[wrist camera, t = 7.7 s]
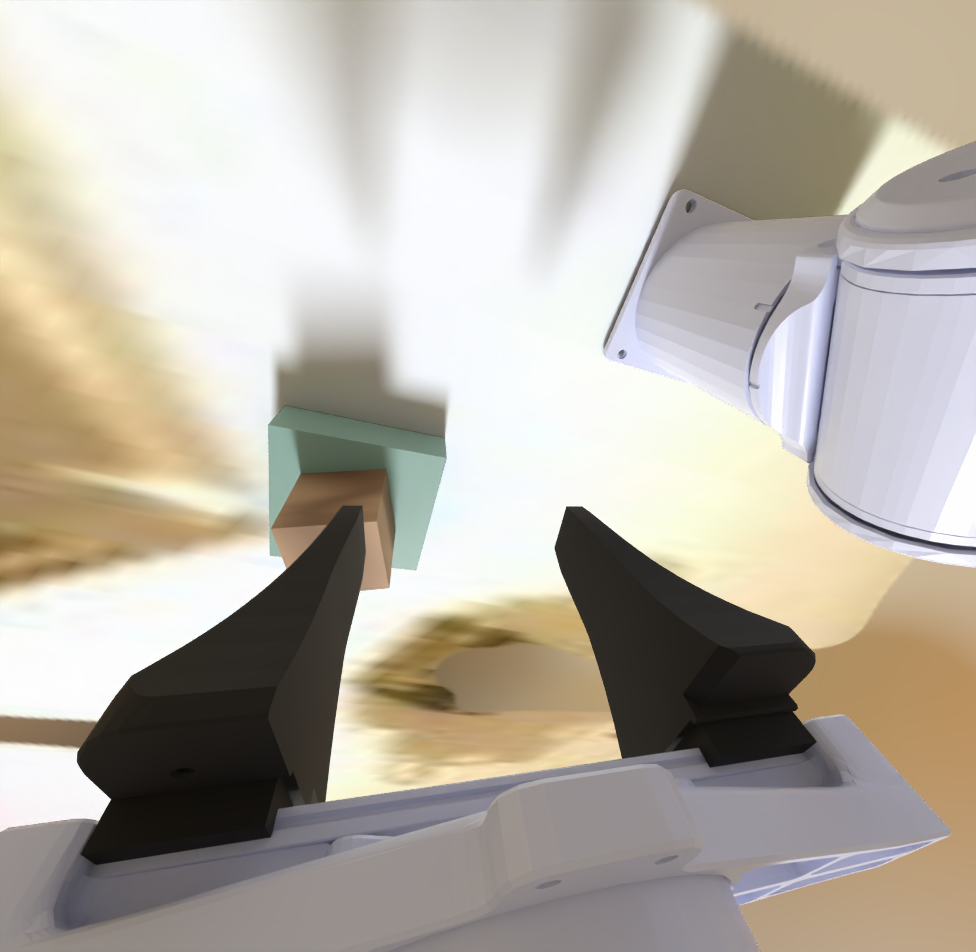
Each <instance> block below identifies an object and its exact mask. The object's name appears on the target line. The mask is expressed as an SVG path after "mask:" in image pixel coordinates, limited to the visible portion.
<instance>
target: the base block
mask: <svg viewBox="0 0 976 952" xmlns="http://www.w3.org/2000/svg"><path fill="white" fill-rule="evenodd" d="M268 439H269V529H270V556H279V557H282V556H281V553H280V551H279V548H278V546H277V543H276V541H275V538H274V536H273V533H272V531H271V527H272V525H273V524H274V522H275V520H276V518H277V516H278V514H279V513H280V511H281V509H282V507H283V505H284V503H285V502H286V500H287V498H288V496H289V494H290V492H291V491H292V489H293V487H294V485H295V483H296V481H297V480H298V478H299V476H300V474H302V473H321V472H340V471H360V470H379V469H386V471H387V478H388V484H389V490H390V497H391V503H392V510H393V516H394V523H395V529H396V532H395V541H394V549H393V558H392V567H391V568H399V569H409V570H416V569H417V566H418V562H419V558H420V555H421V551H422V547H423V544H424V540H425V536H426V532H427V529H428V525H429V521H430V518H431V514H432V510H433V507H434V503H435V499H436V495H437V492H438V488H439V484H440V481H441V477H442V473H443V470H444V466H445V462H446V458H447V457H446V446H445V438H443V437H438V436H433V435H428V434H423V433H418V432H413V431H408V430H403V429H398V428H394V427H389V426H384V425H379V424H374V423H369V422H364V421H359V420H354V419H349V418H344V417H339V416H335V415H330V414H325V413H320V412H315V411H310V410H305V409H300V408H295V407H290V406H284V407H283V408H282V410H281V411H280V412H279V413H278V414H277V415H276V417H275V418H274V419H273V420H272V421H271V422H270V423H269V425H268Z"/></svg>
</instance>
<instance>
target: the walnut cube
mask: <svg viewBox="0 0 976 952" xmlns="http://www.w3.org/2000/svg"><path fill="white" fill-rule="evenodd" d="M342 506H363V518H364V532H365V546H366V555H365V564H364V572H363V579H362V583H361V588H360V591H362V590H373V589H384V588H389V585H390V576H391V567H392V558H393V549H394V541H395V532H396V529H395V523H394V516H393V510H392V503H391V497H390V490H389V484H388V478H387V471H386V469H379V470H360V471H340V472H321V473H302V474H300V476H299V478H298V480H297V481H296V483H295V485H294V487H293V489H292V491H291V492H290V494H289V496H288V498H287V500H286V502H285V503H284V505H283V507H282V509H281V511H280V513H279V514H278V516H277V518H276V520H275V522H274V524H273V525H272V527H271V531H272V533H273V536H274V538H275V541H276V543H277V546H278V548H279V551H280V553H281V556H282V558H283V561H284V563H285V566H286V568H288V567H289V566H290V565H291V564H292V563H293V562H294V561H295V560H296V559H297V558H298V557H299V556H300V555H301V554H302V553H303V552H304V551H305V550H306V549H307V548H308V547H309V546H310V544H311V543H312V542H313V541H314V540H315V539H316V538H317V536H318V535H319V534H320V533H321V532H322V531H323V529H324V528H325V527H326V526H327V525H328V523H329V522H330V521H331V520H332V518H333V517H334V516H335V514H336V513H337V512H338V510H339V509H340V508H341V507H342Z"/></svg>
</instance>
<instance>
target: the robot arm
mask: <svg viewBox="0 0 976 952" xmlns="http://www.w3.org/2000/svg"><path fill="white" fill-rule="evenodd" d="M688 201H690V202H691V204H692V206H691V209H690V211H689V212H688V213H687V212H686V204H687V203H688ZM621 350H624V353H623V355H622V356H621V357H618V353H619V352H620V351H621ZM604 356H605V358H607V359H608V360H610V361H613V362H616V363H620V364H623V365H627V366H630V367H634V368H637V369H641V370H644V371H648V372H651V373H654V374H658V375H661V376H665V377H668V378H672V379H675V380H679V381H682V382H686V383H689V384H692V385H693V386H695V387H697V388H699V389H701V390H703V391H704V392H706V393H708V394H710V395H712V396H714V397H715V398H717V399H719V400H721V401H723V402H725V403H726V404H728V405H730V406H732V407H734V408H735V409H737V410H739V411H741V412H743V413H745V414H746V415H748V416H750V417H752V418H754V419H756V420H757V421H759V422H761V423H763V424H765V425H767V426H769V427H770V428H772V429H774V430H775V431H776V432H778V433H779V435H780V436H781V439H782V447H783V449H785V450H787V451H788V452H790V453H792V454H794V455H795V456H797V457H799V458H800V459H802V460H804V461H805V462H807V463H810V464H809V467H808V475H807V487H808V492H809V494H810V496H811V498H812V500H813V502H814V504H815V505H816V506H817V507H818V508H819V510H820V511H821V512H822V513H823V514H824V515H825V516H826V517H827V518H829V519H830V520H831V521H832V522H833V523H835V524H836V525H838V526H839V527H841V528H842V529H844V530H846V531H847V532H849V533H850V534H852V535H854V536H856V537H858V538H861V539H863V540H865V541H867V542H869V543H871V544H874V545H877V546H879V547H882V548H884V549H887V550H890V551H893V552H896V553H900V554H903V555H907V556H910V557H914V558H918V559H923V560H928V561H933V562H938V563H942V564H951V565H958V566H967V567H976V141H974V142H972V143H969V144H966V145H964V146H961V147H958V148H956V149H953V150H951V151H948V152H946V153H943V154H941V155H939V156H936V157H934V158H932V159H929V160H927V161H925V162H923V163H921V164H918V165H916V166H914V167H912V168H910V169H908V170H906V171H904V172H902V173H901V174H899V175H897V176H895V177H894V178H892V179H891V180H889V181H888V182H886V183H885V184H884V185H882V186H881V187H880V188H879V189H878V190H877V191H876V192H875V193H874V194H872V195H871V196H870V197H869V198H868V199H867V200H866V201H865V202H864V203H863V204H861V205H859V206H858V207H857V208H855V209H854V210H853V211H852V212H851V213H850V214H848V215H833V216H818V217H802V218H786V219H770V220H753V219H750V218H748V217H746V216H744V215H742V214H740V213H738V212H735V211H733V210H731V209H729V208H727V207H725V206H722V205H720V204H718V203H716V202H714V201H712V200H709V199H707V198H705V197H703V196H701V195H699V194H696V193H694V192H692V191H690V190H688V189H682V190H678V191H676V192H675V193H674V194H673V195H672V196H671V198H670V199H669V202H668V204H667V206H666V209H665V211H664V213H663V215H662V218H661V220H660V222H659V225H658V227H657V229H656V231H655V234H654V236H653V238H652V241H651V243H650V245H649V247H648V250H647V252H646V254H645V257H644V259H643V261H642V263H641V266H640V268H639V270H638V273H637V275H636V277H635V280H634V282H633V284H632V286H631V289H630V291H629V293H628V296H627V298H626V300H625V302H624V305H623V307H622V309H621V312H620V314H619V316H618V318H617V321H616V323H615V325H614V328H613V330H612V332H611V334H610V337H609V339H608V341H607V344H606V346H605V348H604ZM555 552H556V555H557V559H558V563H559V566H560V569H561V573H562V575H563V578H564V580H565V582H566V585H567V587H568V589H569V592H570V594H571V596H572V598H573V601H574V603H575V605H576V607H577V610H578V612H579V614H580V616H581V619H582V621H583V623H584V626H585V628H586V631H587V633H588V636H589V639H590V642H591V645H592V648H593V651H594V654H595V657H596V660H597V663H598V667H599V670H600V674H601V677H602V680H603V684H604V687H605V691H606V695H607V698H608V702H609V706H610V710H611V714H612V717H613V721H614V725H615V730H616V734H617V738H618V743H619V747H620V751H621V756H622V759H618V760H611V761H604V762H597V763H591V764H584V765H577V766H570V767H563V768H556V769H549V770H542V771H535V772H529V773H522V774H515V775H508V776H501V777H494V778H487V779H480V780H473V781H467V782H460V783H453V784H446V785H439V786H432V787H425V788H418V789H411V790H405V791H398V792H391V793H384V794H377V795H370V796H363V797H356V798H349V799H343V800H336V801H329V802H325V800H326V791H327V782H328V773H329V765H330V756H331V748H332V740H333V732H334V725H335V717H336V710H337V702H338V695H339V688H340V681H341V674H342V667H343V660H344V654H345V649H346V644H347V640H348V636H349V632H350V628H351V624H352V620H353V616H354V612H355V608H356V604H357V600H358V596H359V592H360V588H361V583H362V579H363V572H364V564H365V555H366V546H365V532H364V518H363V506H342V507H341V508H340V509H339V510H338V512H337V513H336V514H335V516H334V517H333V518H332V520H331V521H330V522H329V523H328V525H327V526H326V527H325V528H324V529H323V531H322V532H321V533H320V534H319V535H318V536H317V538H316V539H315V540H314V541H313V542H312V543H311V544H310V546H309V547H308V548H307V549H306V550H305V551H304V552H303V553H302V554H301V555H300V556H299V557H298V558H297V559H296V560H295V561H294V562H293V563H292V564H291V565H290V566H289V567H288V568H287V569H286V570H285V571H284V572H283V573H282V574H281V575H280V576H279V577H278V578H277V579H275V580H274V581H273V582H272V583H271V584H270V585H269V586H267V587H266V588H265V589H264V590H263V591H262V592H260V593H259V594H258V595H257V596H255V597H254V598H253V599H251V600H250V601H249V602H248V603H246V604H245V605H244V606H242V607H241V608H240V609H238V610H237V611H236V612H234V613H233V614H232V615H230V616H229V617H228V618H226V619H225V620H223V621H222V622H220V623H219V624H217V625H216V626H214V627H213V628H211V629H210V630H208V631H207V632H205V633H204V634H202V635H201V636H199V637H197V638H196V639H194V640H193V641H191V642H189V643H188V644H186V645H185V646H183V647H181V648H180V649H178V650H176V651H174V652H173V653H171V654H169V655H167V656H166V657H164V658H162V659H160V660H159V661H157V662H155V663H153V664H152V665H150V666H148V667H146V668H145V669H143V670H141V671H139V672H137V673H136V674H134V675H132V676H131V677H130V678H129V680H128V681H127V682H126V683H125V685H124V686H123V687H122V688H121V690H120V691H119V692H118V694H117V695H116V696H115V697H114V699H113V700H112V702H111V703H110V705H109V706H108V708H107V709H106V710H105V712H104V713H103V715H102V716H101V718H100V719H99V721H98V722H97V724H96V725H95V727H94V729H93V730H92V731H91V733H90V734H89V736H88V737H87V739H86V740H85V742H84V743H83V745H82V746H81V748H80V749H79V751H78V753H77V763H78V765H79V767H80V768H81V770H82V771H83V773H84V774H85V775H86V776H87V777H88V778H89V779H90V780H91V781H92V782H93V783H94V784H95V785H96V786H98V787H99V788H100V789H101V790H102V791H103V792H104V793H105V794H106V795H107V796H108V797H109V798H110V799H111V801H110V802H109V804H108V806H107V808H106V810H105V811H104V813H103V815H102V817H101V819H100V820H99V822H98V821H96V820H91V819H70V820H63V821H55V822H48V823H41V824H33V825H26V826H19V827H11V828H7V829H6V830H4V831H2V832H0V952H761V951H760V949H759V947H758V945H757V943H756V941H755V939H754V937H753V935H752V933H751V930H750V928H749V927H748V924H747V922H746V920H745V918H744V916H743V914H742V912H741V910H740V908H739V905H743V904H746V903H750V902H753V901H757V900H760V899H764V898H767V897H770V896H774V895H777V894H781V893H784V892H787V891H791V890H795V889H798V888H801V887H805V886H809V885H812V884H815V883H819V882H823V881H826V880H830V879H834V878H837V877H841V876H845V875H849V874H853V873H857V872H861V871H864V870H868V869H872V868H876V867H879V866H881V865H883V864H886V863H888V862H890V861H893V860H895V859H897V858H900V857H902V856H904V855H907V854H909V853H911V852H913V851H916V850H918V849H920V848H923V847H925V846H927V845H930V844H932V843H934V842H937V841H939V840H941V839H944V838H946V837H948V836H951V830H950V829H949V828H948V827H947V825H946V824H945V823H944V822H943V821H942V820H941V819H940V818H939V817H938V815H937V814H936V813H935V812H934V811H933V810H932V809H931V808H930V807H929V806H928V805H927V803H926V802H925V801H924V800H923V799H922V798H921V797H920V796H919V795H918V793H917V792H916V791H915V790H914V789H913V788H912V787H911V786H910V785H909V784H908V782H907V781H906V780H905V779H904V778H903V777H902V776H901V775H900V774H899V772H898V771H896V769H895V768H894V767H893V766H892V765H891V764H890V763H889V761H888V760H887V759H886V758H885V757H884V756H883V755H882V754H881V753H880V752H879V750H878V749H877V748H876V747H875V746H874V745H873V744H872V743H871V742H870V741H869V740H868V738H867V737H866V736H865V735H864V734H863V733H862V732H861V731H860V729H858V727H857V726H856V725H855V724H854V723H853V722H852V721H851V720H850V718H849V717H848V716H846V715H843V714H840V715H832V716H825V717H818V718H813V719H809V720H807V721H804V722H803V723H801V721H800V720H799V719H798V718H797V716H796V715H795V714H794V713H793V711H796V710H797V709H798V707H797V704H796V703H795V702H794V700H793V699H792V698H791V697H790V696H789V693H790V692H791V691H792V690H793V689H794V688H795V687H796V686H797V685H798V684H799V683H800V682H801V681H802V680H803V679H804V678H805V677H806V676H807V675H808V674H809V673H810V671H811V670H812V669H813V667H814V665H815V653H814V652H813V651H812V650H811V649H810V648H809V647H808V646H807V645H806V644H805V643H804V642H803V641H802V640H801V638H800V637H799V636H798V635H797V634H796V633H795V632H794V631H793V630H792V629H791V628H790V627H789V626H786V625H783V624H781V623H778V622H776V621H773V620H770V619H768V618H765V617H763V616H760V615H757V614H755V613H752V612H750V611H747V610H745V609H743V608H740V607H738V606H736V605H734V604H731V603H729V602H727V601H725V600H723V599H721V598H718V597H716V596H714V595H712V594H710V593H708V592H706V591H704V590H702V589H701V588H699V587H697V586H695V585H693V584H691V583H689V582H687V581H686V580H684V579H682V578H680V577H679V576H677V575H675V574H674V573H672V572H670V571H669V570H667V569H666V568H664V567H662V566H661V565H659V564H658V563H656V562H655V561H653V560H652V559H650V558H649V557H647V556H646V555H645V554H643V553H642V552H640V551H639V550H637V549H636V548H635V547H633V546H632V545H631V544H629V543H628V542H627V541H625V540H624V539H623V538H622V537H620V536H619V535H618V534H616V533H615V532H614V531H613V530H611V529H610V528H609V527H608V526H606V525H605V524H604V523H603V522H601V521H600V520H599V519H598V518H596V517H595V516H594V515H593V514H591V513H590V512H589V511H587V510H586V509H585V508H583V507H566V510H565V513H564V517H563V520H562V524H561V527H560V531H559V534H558V538H557V541H556V545H555Z"/></svg>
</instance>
